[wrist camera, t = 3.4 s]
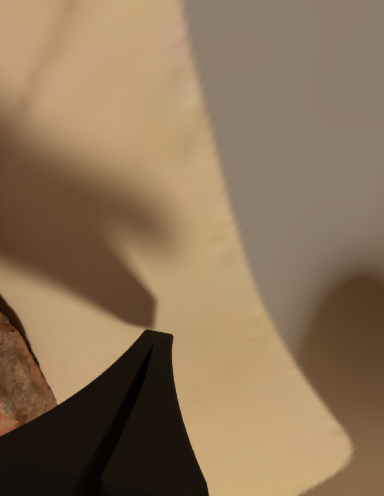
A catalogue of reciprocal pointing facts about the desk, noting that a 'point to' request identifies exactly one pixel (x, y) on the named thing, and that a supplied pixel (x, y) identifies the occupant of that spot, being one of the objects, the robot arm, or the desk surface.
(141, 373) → the robot arm
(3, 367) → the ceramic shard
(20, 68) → the desk surface
